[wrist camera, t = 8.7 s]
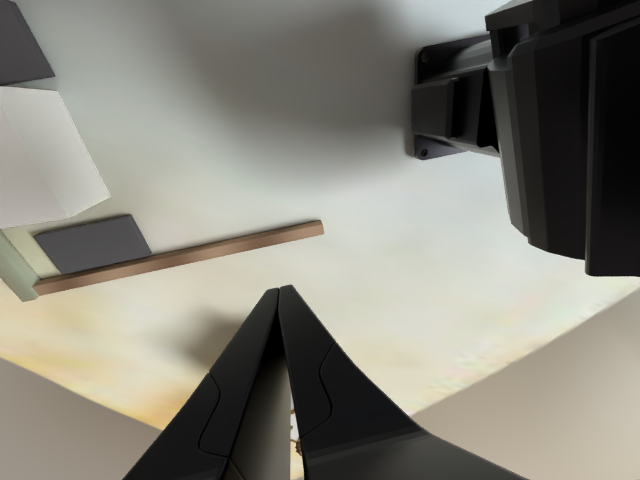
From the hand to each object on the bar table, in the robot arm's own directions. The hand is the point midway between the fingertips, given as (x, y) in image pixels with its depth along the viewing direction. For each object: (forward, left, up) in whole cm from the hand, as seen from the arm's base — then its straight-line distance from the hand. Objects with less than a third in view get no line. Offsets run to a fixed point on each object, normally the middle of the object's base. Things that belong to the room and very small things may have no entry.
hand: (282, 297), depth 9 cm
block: (+13, -6, -11) cm, 18 cm away
